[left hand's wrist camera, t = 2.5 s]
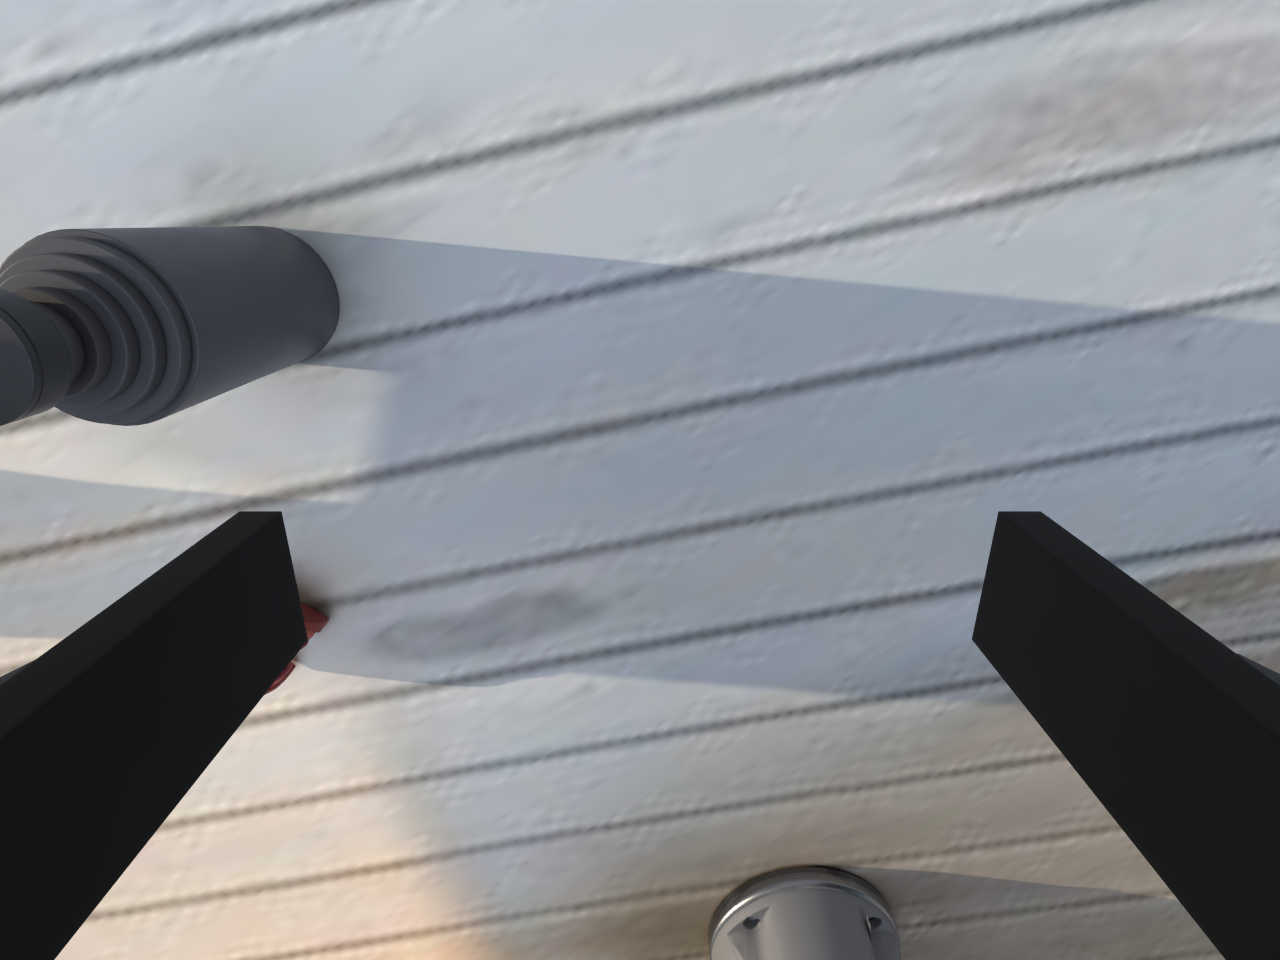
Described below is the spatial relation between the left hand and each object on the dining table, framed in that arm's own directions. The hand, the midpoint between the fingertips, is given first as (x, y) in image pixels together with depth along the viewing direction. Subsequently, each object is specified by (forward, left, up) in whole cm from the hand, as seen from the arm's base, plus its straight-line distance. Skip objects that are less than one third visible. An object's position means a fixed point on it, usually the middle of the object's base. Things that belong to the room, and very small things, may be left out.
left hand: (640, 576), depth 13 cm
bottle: (+2, +21, -28) cm, 35 cm away
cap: (+2, +21, -10) cm, 23 cm away
